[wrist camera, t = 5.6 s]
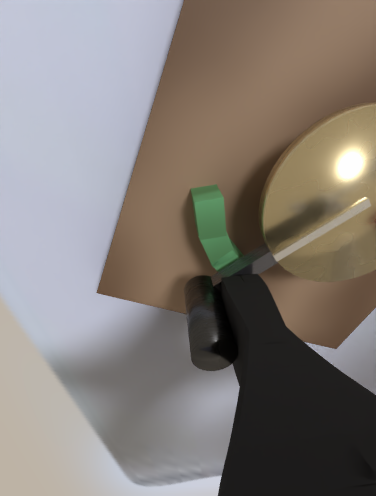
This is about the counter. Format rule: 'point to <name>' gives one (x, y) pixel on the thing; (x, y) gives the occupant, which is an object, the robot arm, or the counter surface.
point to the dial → (301, 224)
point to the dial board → (240, 151)
